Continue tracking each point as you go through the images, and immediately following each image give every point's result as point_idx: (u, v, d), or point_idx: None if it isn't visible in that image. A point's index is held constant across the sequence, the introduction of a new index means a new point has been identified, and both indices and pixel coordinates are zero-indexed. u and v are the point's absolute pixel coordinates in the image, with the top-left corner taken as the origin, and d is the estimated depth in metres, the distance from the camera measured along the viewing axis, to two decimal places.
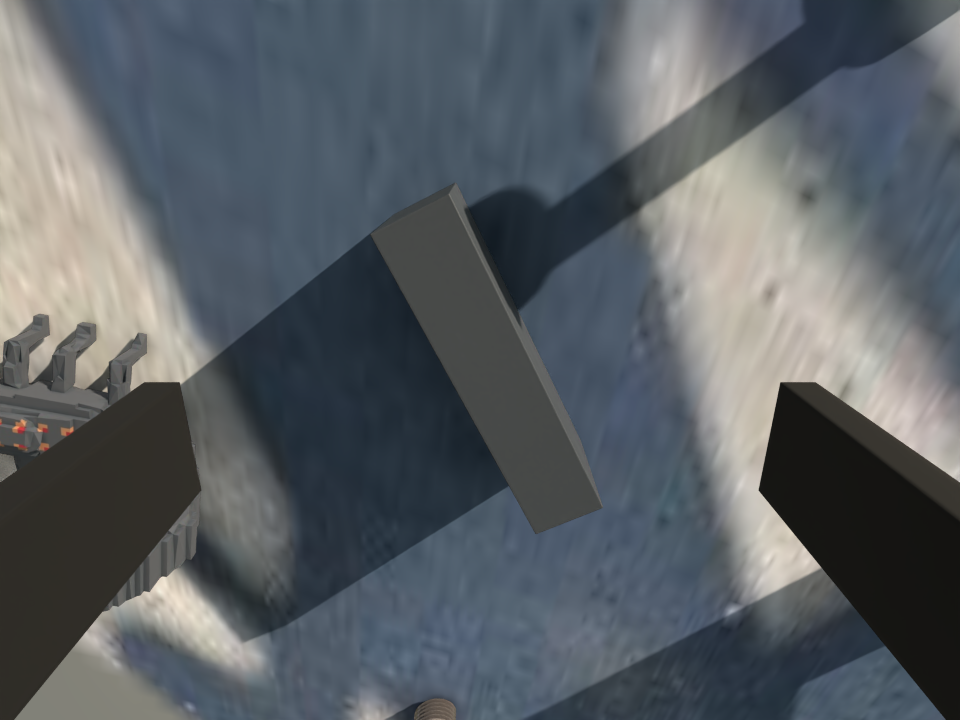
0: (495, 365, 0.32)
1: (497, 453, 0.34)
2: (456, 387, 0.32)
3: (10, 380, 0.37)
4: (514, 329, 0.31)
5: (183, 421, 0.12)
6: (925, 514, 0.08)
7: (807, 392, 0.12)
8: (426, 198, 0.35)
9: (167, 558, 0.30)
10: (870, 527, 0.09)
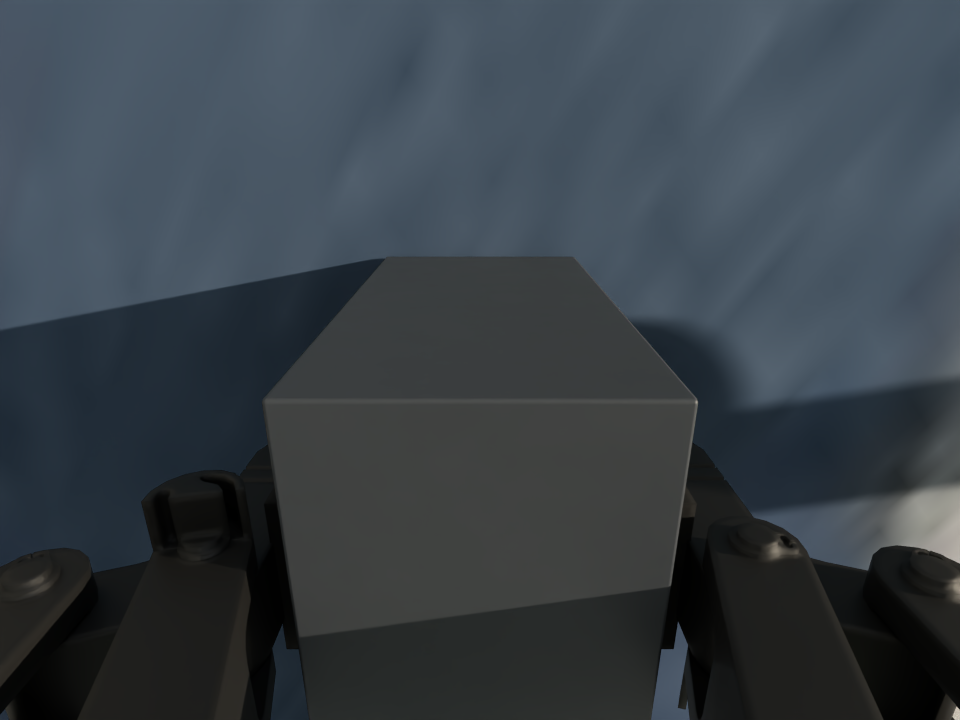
0: None
1: None
2: None
3: None
4: None
5: None
6: None
7: None
8: (493, 266, 0.13)
9: None
10: None
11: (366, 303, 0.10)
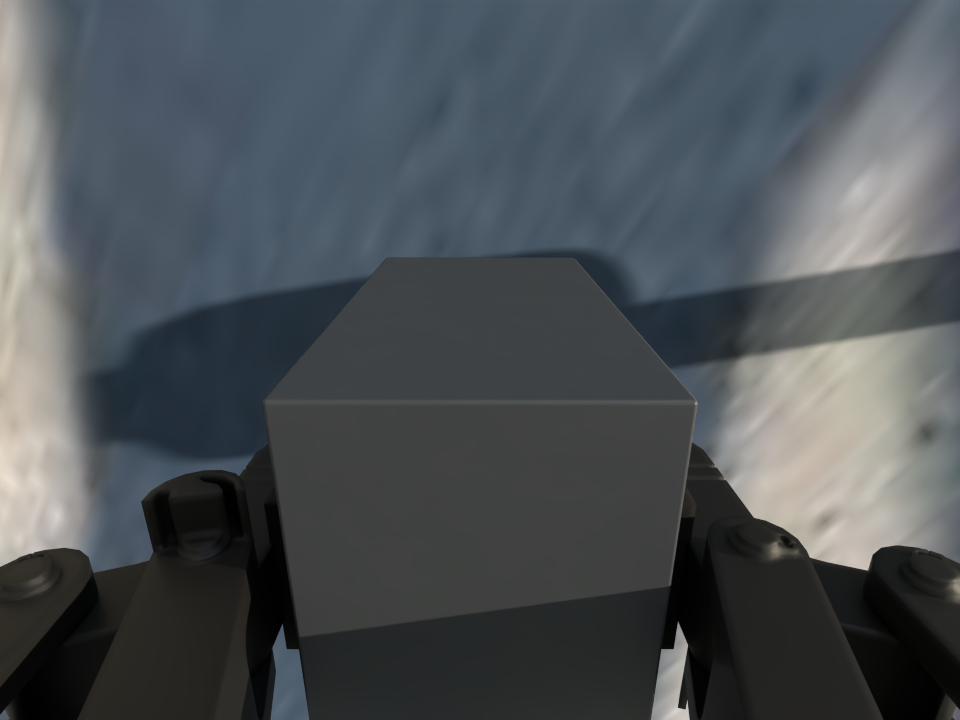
0: None
1: None
2: None
3: None
4: None
5: None
6: None
7: None
8: (493, 267, 0.13)
9: None
10: None
11: (366, 304, 0.10)
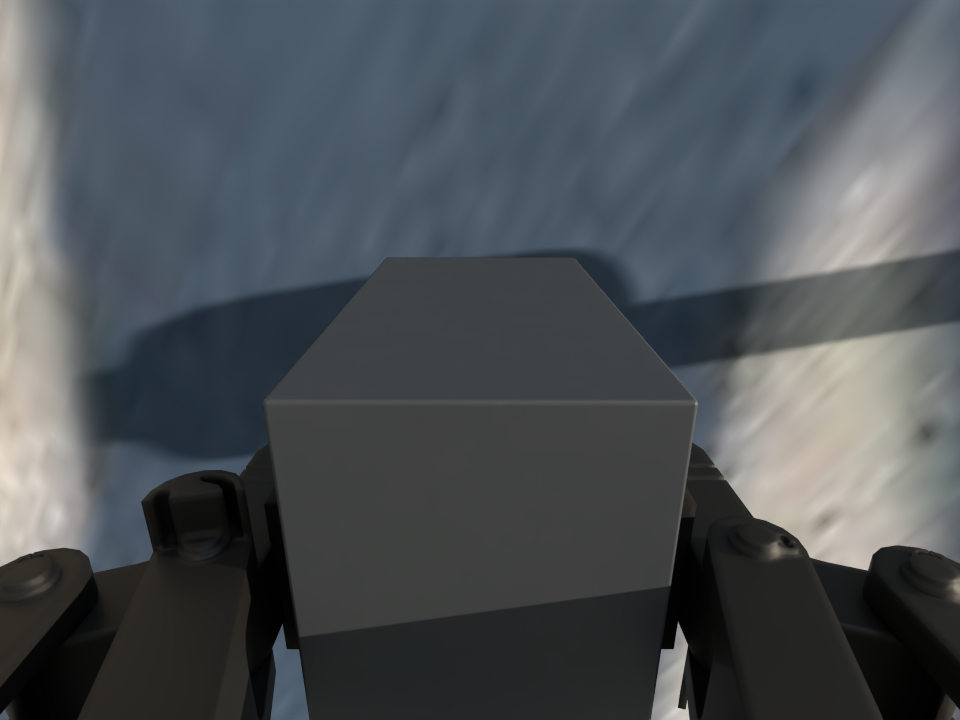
0: None
1: None
2: None
3: None
4: None
5: None
6: None
7: None
8: (493, 267, 0.13)
9: None
10: None
11: (366, 304, 0.10)
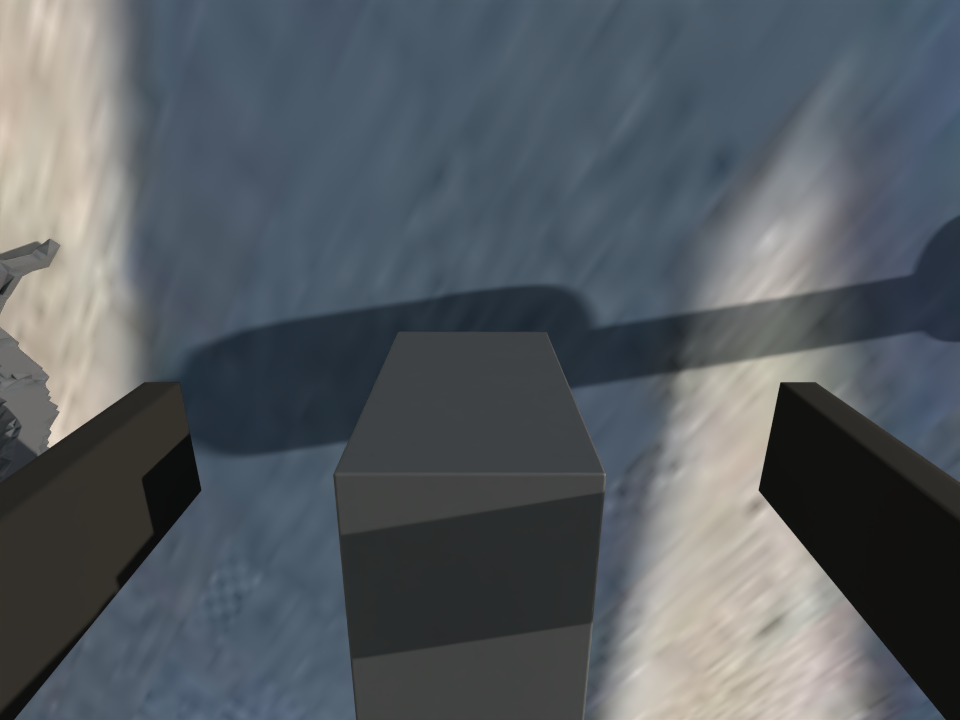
0: None
1: None
2: None
3: None
4: None
5: (183, 421, 0.12)
6: (925, 514, 0.08)
7: (807, 392, 0.12)
8: (482, 343, 0.16)
9: None
10: (870, 527, 0.09)
11: (388, 385, 0.13)
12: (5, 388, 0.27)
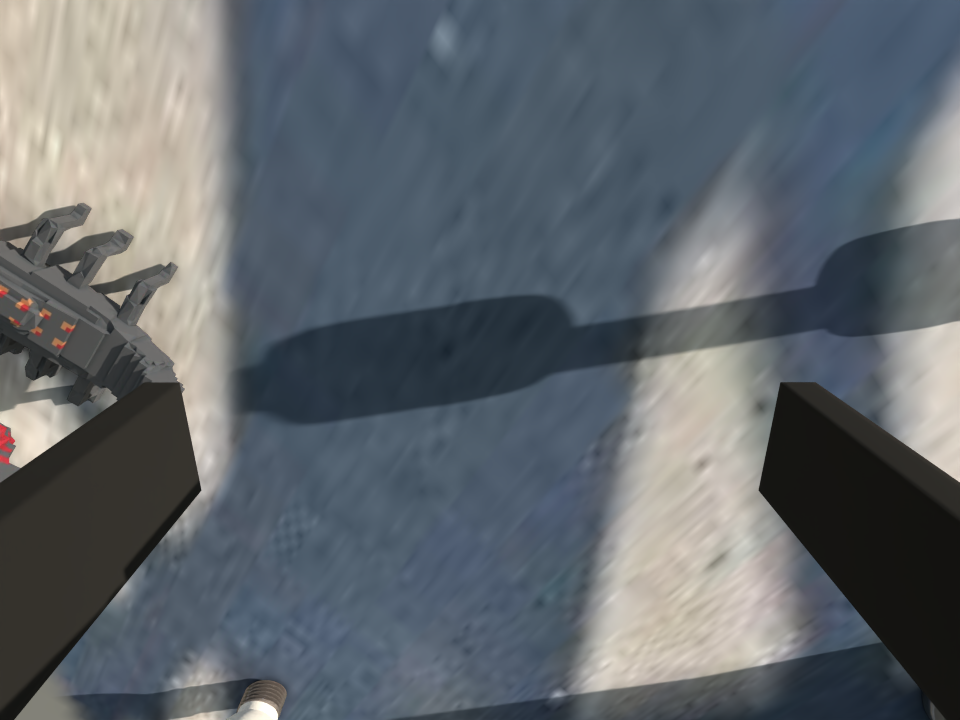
0: None
1: None
2: None
3: (31, 255, 0.37)
4: None
5: (183, 421, 0.12)
6: (925, 514, 0.08)
7: (807, 392, 0.12)
8: None
9: None
10: (870, 527, 0.09)
11: None
12: (149, 372, 0.38)
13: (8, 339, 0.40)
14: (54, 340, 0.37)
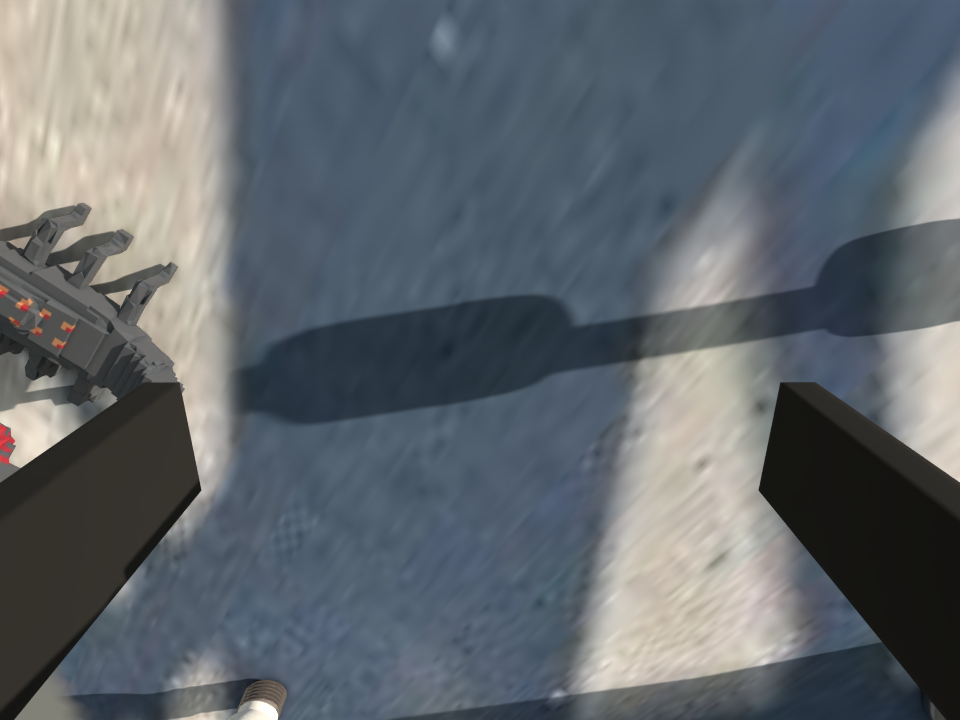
0: None
1: None
2: None
3: (31, 255, 0.37)
4: None
5: (183, 421, 0.12)
6: (925, 514, 0.08)
7: (807, 392, 0.12)
8: None
9: None
10: (870, 527, 0.09)
11: None
12: (149, 372, 0.38)
13: (8, 339, 0.40)
14: (54, 340, 0.37)
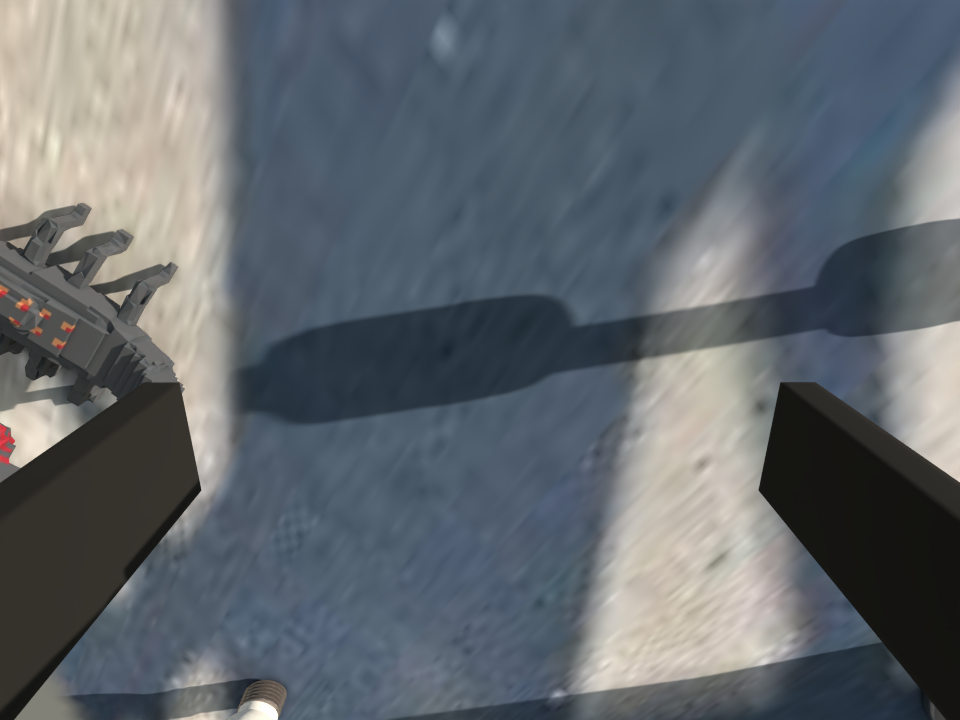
0: None
1: None
2: None
3: (31, 255, 0.37)
4: None
5: (183, 421, 0.12)
6: (925, 514, 0.08)
7: (807, 392, 0.12)
8: None
9: None
10: (870, 527, 0.09)
11: None
12: (149, 372, 0.38)
13: (8, 339, 0.40)
14: (54, 340, 0.37)
